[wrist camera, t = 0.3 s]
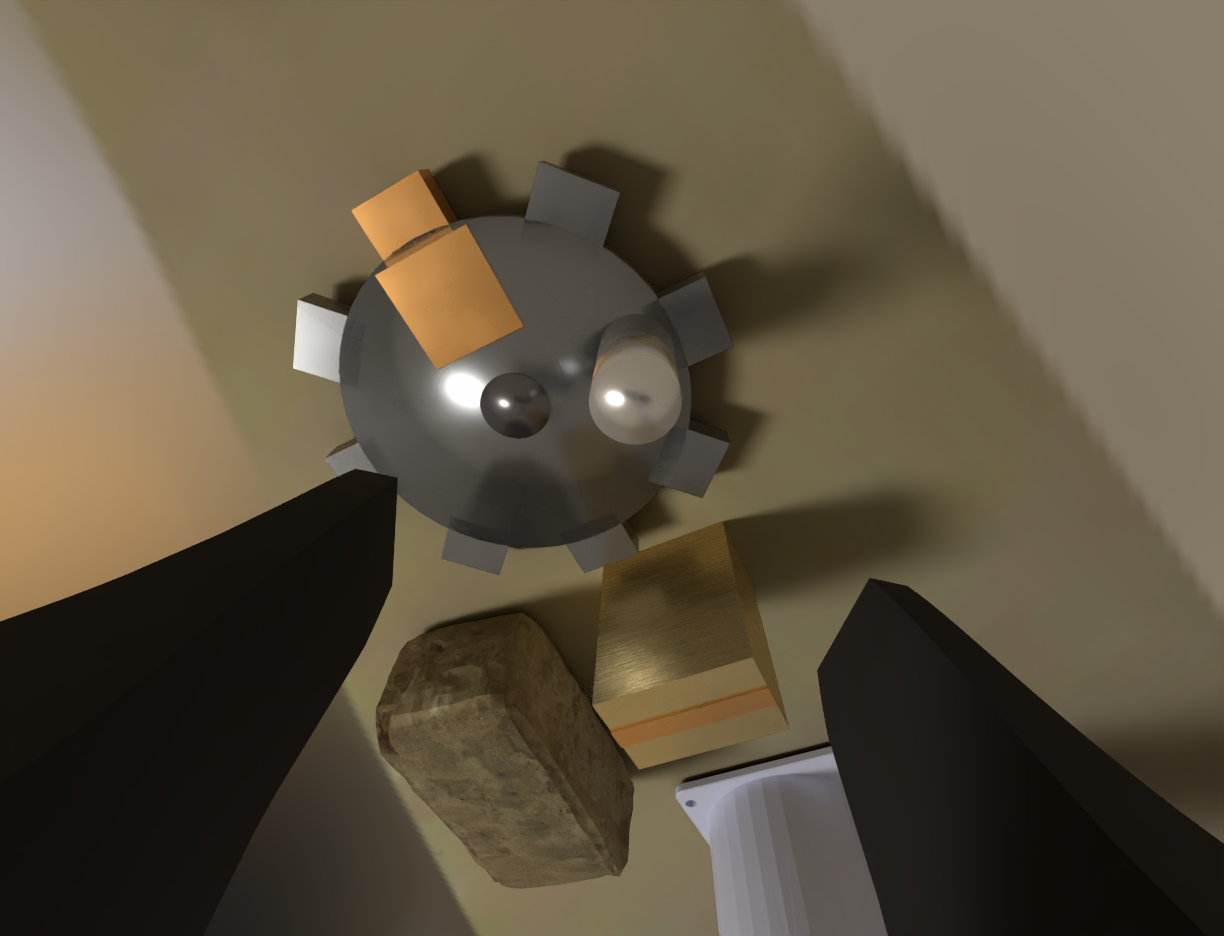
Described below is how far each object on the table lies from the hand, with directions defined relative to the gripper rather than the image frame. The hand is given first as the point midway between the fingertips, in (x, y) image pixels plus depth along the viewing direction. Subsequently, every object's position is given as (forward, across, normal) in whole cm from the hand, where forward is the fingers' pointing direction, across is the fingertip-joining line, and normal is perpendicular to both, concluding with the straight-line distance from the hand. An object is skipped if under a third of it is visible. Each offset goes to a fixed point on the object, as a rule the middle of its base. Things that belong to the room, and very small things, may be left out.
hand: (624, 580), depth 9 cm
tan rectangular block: (+10, -3, +7) cm, 12 cm away
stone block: (+10, +1, +16) cm, 19 cm away
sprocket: (+10, +3, +1) cm, 10 cm away
